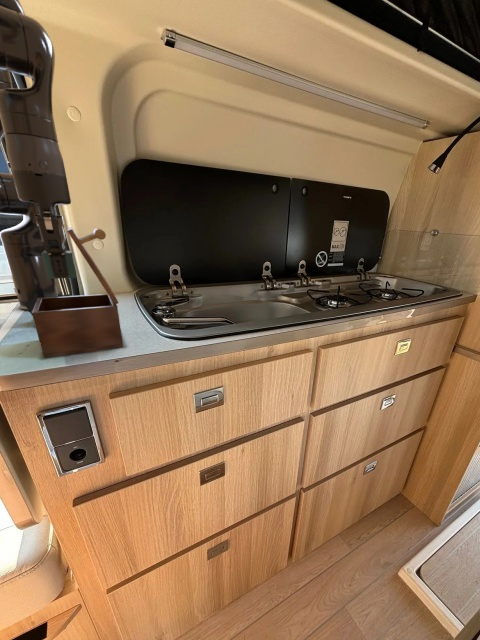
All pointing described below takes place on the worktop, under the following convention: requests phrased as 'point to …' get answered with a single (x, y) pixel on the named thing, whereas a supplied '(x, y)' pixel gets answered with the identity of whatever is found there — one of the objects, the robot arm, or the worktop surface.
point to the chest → (77, 324)
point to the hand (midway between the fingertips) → (62, 274)
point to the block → (69, 264)
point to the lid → (79, 243)
